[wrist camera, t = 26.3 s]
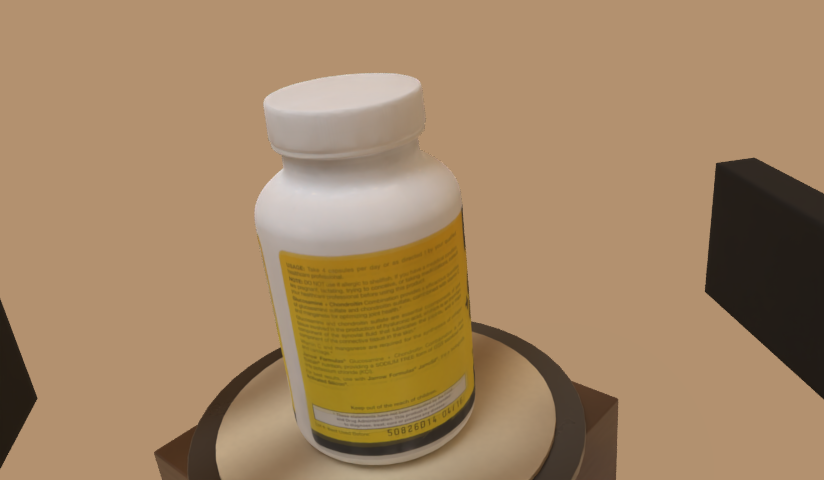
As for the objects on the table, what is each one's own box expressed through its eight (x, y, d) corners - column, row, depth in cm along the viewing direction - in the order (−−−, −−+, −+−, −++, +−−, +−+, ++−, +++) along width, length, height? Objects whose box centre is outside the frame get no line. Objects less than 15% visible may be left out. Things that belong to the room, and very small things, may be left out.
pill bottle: (505, 445, 24) (487, 95, 19) (310, 498, 22) (237, 136, 18) (444, 345, 30) (419, 57, 25) (286, 382, 28) (226, 85, 23)
